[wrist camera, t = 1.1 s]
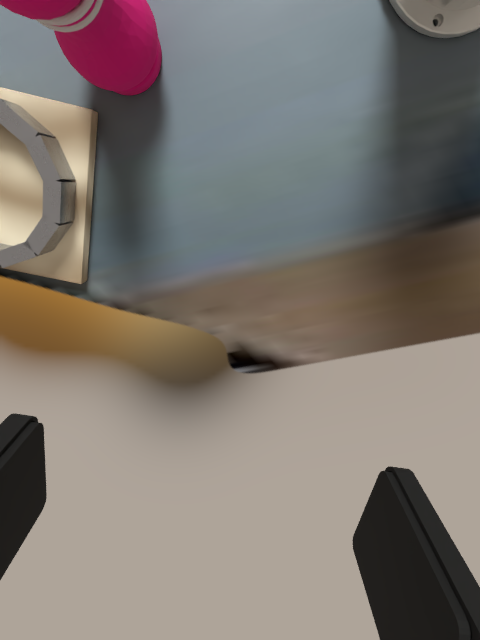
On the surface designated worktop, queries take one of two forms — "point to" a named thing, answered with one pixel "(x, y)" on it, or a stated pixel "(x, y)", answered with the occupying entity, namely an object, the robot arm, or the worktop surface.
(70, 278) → the birch board
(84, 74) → the pepper mill
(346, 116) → the worktop surface
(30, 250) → the steel ring collar
